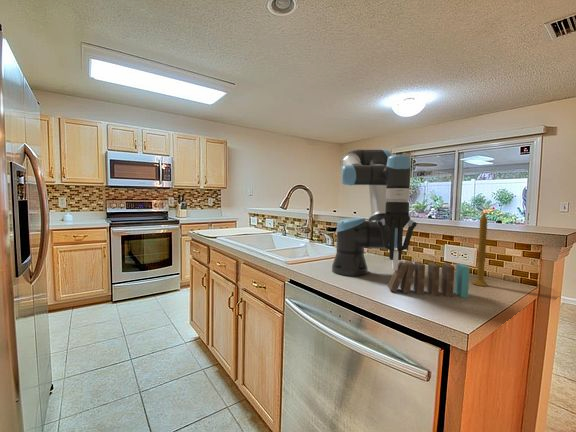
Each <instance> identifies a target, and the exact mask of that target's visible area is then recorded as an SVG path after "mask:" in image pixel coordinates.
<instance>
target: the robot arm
mask: <svg viewBox="0 0 576 432" xmlns="http://www.w3.org/2000/svg"><path fill="white" fill-rule="evenodd" d="M411 159H412V158H411V157H410V155H407V154H396V155H392V153H391V152H390V151H389V150H388V149H383V148H378V149H354V150H351V151H348V152H347V153H345V154H343V156H342V157H341V159H340V160H339V161H340V162H339V163H340V168H341V184H342V185H344V186H345V185H346V186H368V189H369V192H368V193H369V203H370V215H371V216H370V217H369V218H368V220H366V218H365V217H352V218H351V217H350V218H345V219H344V218H343V219H341V220H339V221H338V222H337V224H336V225H337V226H336V253H335V256H334V259H333V261H332V264H331V271H332V272H333V273H334V274H337V275H342V276H346V277H348V276H350V277H360V276H365V275H367V274H368V272H369V271H368V270H369V269H368V265H367V264H368V263H367V262H366V257H365V249H375V250H376V249H377V250H388V253H389V254H388V255H389V256H388V257H389V260H390V261H391V269H392V270H393V271H395V270H398V263H399V261H402V255H403V254H402V252H403V251H406V250H408V249H409V246H410V242H411V238H412V236H413V231H414V230H415V228H416V226H417V225H418V223H417V222H416V221H414V220H412V219H411V216H410V202H409V201H410V188H411V187H410V186H411V171H412V170H411V169H412V164H411V163H412V161H411ZM406 225H408V228H407V230H406V235H405V237H404V236H403V235H404V234H403V232H404V228H405V227H406ZM403 237H404V241H403Z"/></svg>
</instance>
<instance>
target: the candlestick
mask: <svg viewBox="0 0 576 432" xmlns="http://www.w3.org/2000/svg"><path fill="white" fill-rule="evenodd" d="M478 230H479V231H478V234H479V235H478V241H477V243H478V244H477V245H478V246H477V259H476V260H477V273H476V279H475V280H474V281H472V282H471V284H473V285H475V286H477V287H488V286H489V284H488V283H487V281H485V279H484V277H485V262H486V256H487V241H488V240H487V239H488V238H487V236H488V219H487V215H486V213H485V212H483V213H482V214H481V216H480V218H479V229H478Z"/></svg>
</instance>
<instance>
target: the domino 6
mask: <svg viewBox="0 0 576 432" xmlns="http://www.w3.org/2000/svg"><path fill="white" fill-rule="evenodd" d="M454 279H455V280H454V281H455V282H454V293H455V294H456V295H458V296H459V297H461V298H469V283H470V266H467V265H466V264H464V263H456V265H455V278H454Z"/></svg>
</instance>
